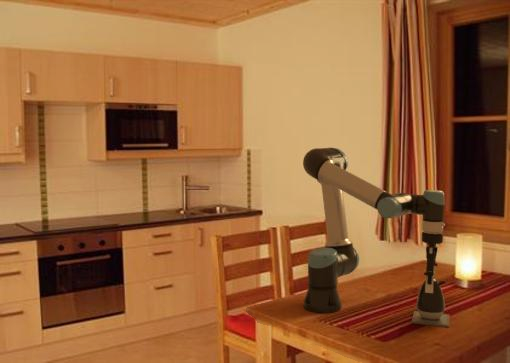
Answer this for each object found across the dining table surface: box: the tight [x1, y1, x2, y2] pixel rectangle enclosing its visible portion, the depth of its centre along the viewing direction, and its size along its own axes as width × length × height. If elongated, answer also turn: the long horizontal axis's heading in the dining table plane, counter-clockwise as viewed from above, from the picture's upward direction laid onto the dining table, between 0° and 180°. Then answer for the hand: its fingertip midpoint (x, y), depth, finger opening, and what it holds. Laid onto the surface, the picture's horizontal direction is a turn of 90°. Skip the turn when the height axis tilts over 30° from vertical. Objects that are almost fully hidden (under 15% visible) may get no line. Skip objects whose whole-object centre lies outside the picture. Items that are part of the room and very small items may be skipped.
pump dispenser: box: [416, 278, 447, 320], centre depth 204 cm, size 10×10×15 cm
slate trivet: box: [411, 310, 450, 328], centre depth 205 cm, size 13×13×1 cm
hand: (430, 287), depth 204 cm, fingers open, 13 cm apart
